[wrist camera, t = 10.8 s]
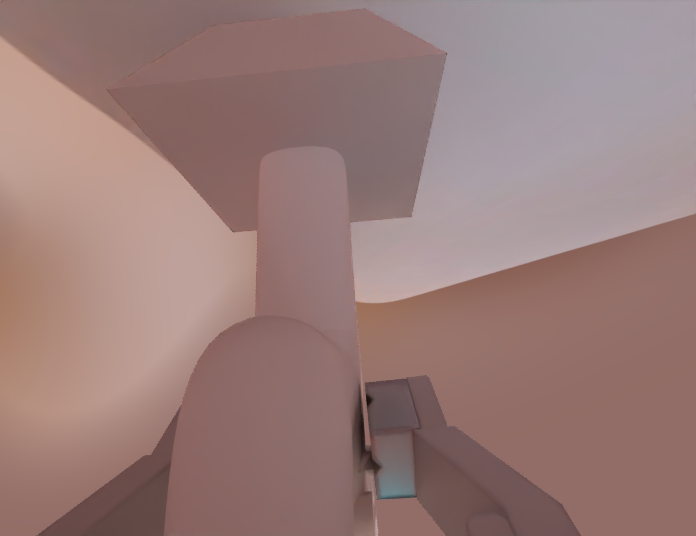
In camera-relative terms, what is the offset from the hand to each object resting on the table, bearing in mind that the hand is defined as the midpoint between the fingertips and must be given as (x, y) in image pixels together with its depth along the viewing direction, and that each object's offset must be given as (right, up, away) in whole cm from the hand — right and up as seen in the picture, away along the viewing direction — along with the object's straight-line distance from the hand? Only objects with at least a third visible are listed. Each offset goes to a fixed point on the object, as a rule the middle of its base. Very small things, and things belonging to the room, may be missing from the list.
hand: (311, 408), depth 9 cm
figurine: (-1, +10, +4) cm, 11 cm away
